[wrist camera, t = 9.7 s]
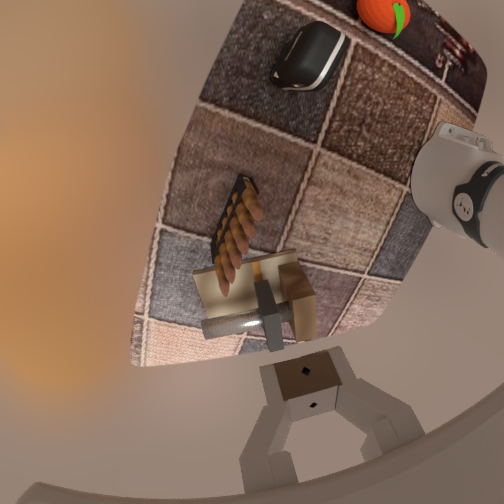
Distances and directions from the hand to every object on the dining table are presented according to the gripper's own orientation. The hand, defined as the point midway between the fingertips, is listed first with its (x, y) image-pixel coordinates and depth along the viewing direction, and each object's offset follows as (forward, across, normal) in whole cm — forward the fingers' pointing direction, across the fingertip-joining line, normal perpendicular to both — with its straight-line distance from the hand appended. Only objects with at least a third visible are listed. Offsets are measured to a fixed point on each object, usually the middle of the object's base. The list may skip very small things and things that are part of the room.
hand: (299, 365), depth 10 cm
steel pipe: (+24, +1, +19) cm, 31 cm away
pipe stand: (+29, 0, +19) cm, 35 cm away
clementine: (+29, -22, -19) cm, 41 cm away
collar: (+26, -1, +19) cm, 32 cm away
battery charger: (+29, -9, -12) cm, 33 cm away
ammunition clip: (+29, +1, +6) cm, 30 cm away
